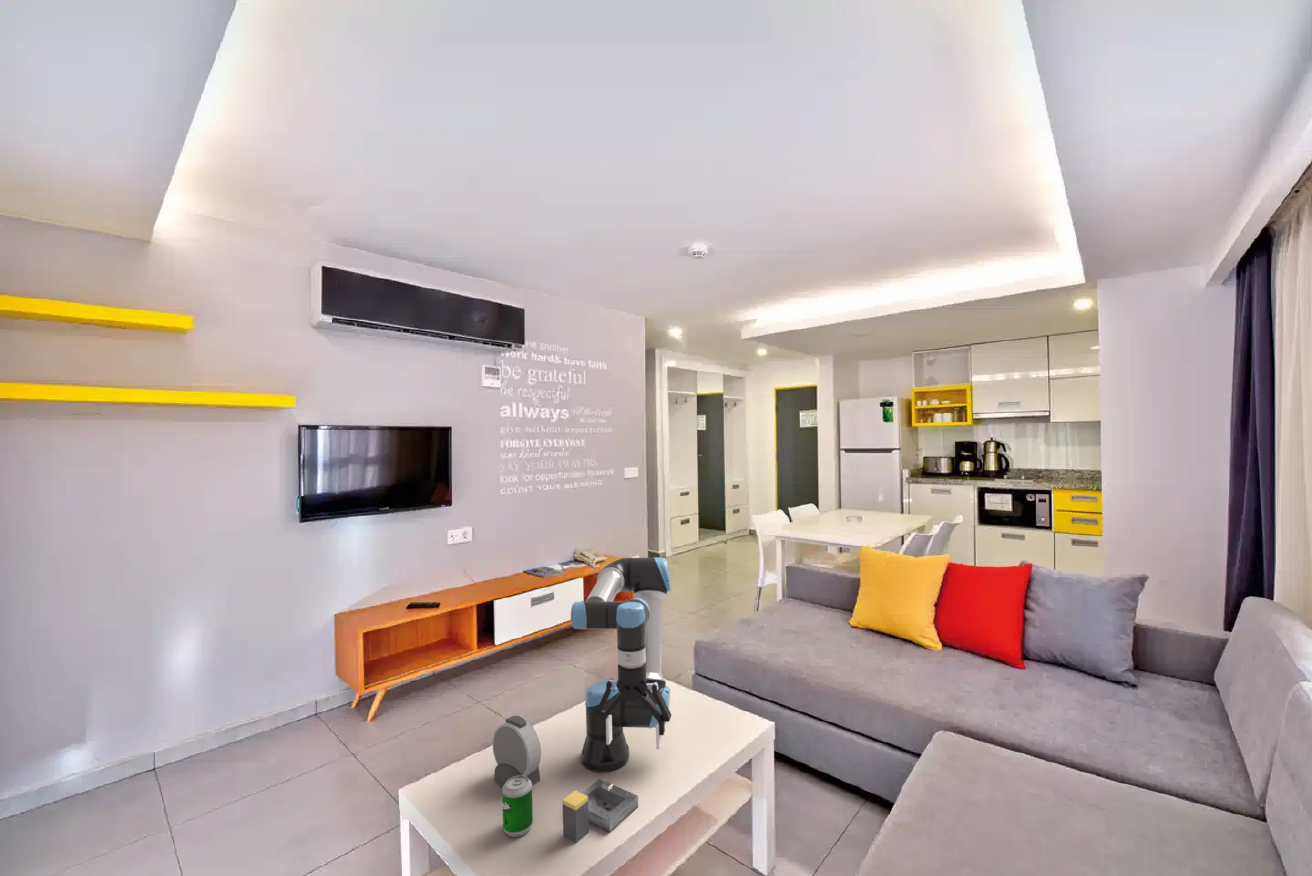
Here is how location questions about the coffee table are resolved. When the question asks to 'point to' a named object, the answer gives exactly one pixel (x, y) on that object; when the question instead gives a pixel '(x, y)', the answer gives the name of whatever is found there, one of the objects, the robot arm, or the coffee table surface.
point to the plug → (575, 816)
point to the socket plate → (609, 804)
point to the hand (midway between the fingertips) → (633, 744)
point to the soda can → (517, 806)
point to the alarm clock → (516, 751)
